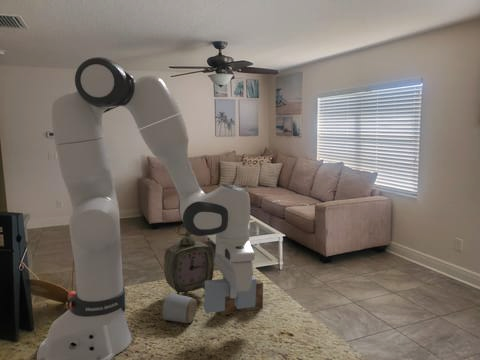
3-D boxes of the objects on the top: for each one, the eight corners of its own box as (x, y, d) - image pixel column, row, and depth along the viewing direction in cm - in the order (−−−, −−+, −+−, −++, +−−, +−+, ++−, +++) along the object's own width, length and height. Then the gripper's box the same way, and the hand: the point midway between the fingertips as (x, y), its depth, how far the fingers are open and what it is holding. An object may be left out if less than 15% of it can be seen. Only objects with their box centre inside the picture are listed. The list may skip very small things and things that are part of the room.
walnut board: (220, 314, 114) (219, 289, 113) (217, 311, 117) (217, 286, 116) (262, 307, 119) (263, 282, 118) (259, 303, 121) (259, 279, 120)
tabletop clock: (173, 306, 120) (171, 229, 116) (162, 295, 127) (160, 222, 124) (214, 295, 128) (213, 222, 124) (201, 285, 135) (200, 216, 131)
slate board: (206, 313, 101) (207, 284, 100) (203, 308, 103) (204, 280, 102) (255, 306, 106) (256, 279, 105) (251, 302, 108) (253, 275, 107)
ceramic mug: (188, 328, 107) (188, 302, 106) (161, 324, 109) (161, 299, 108) (201, 311, 117) (201, 287, 116) (177, 308, 119) (176, 284, 118)
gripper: (210, 234, 111) (208, 280, 112) (233, 258, 92) (231, 312, 93) (230, 233, 113) (229, 278, 115) (257, 256, 94) (254, 309, 96)
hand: (230, 293), depth 104 cm, fingers closed on slate board, 2 cm apart
